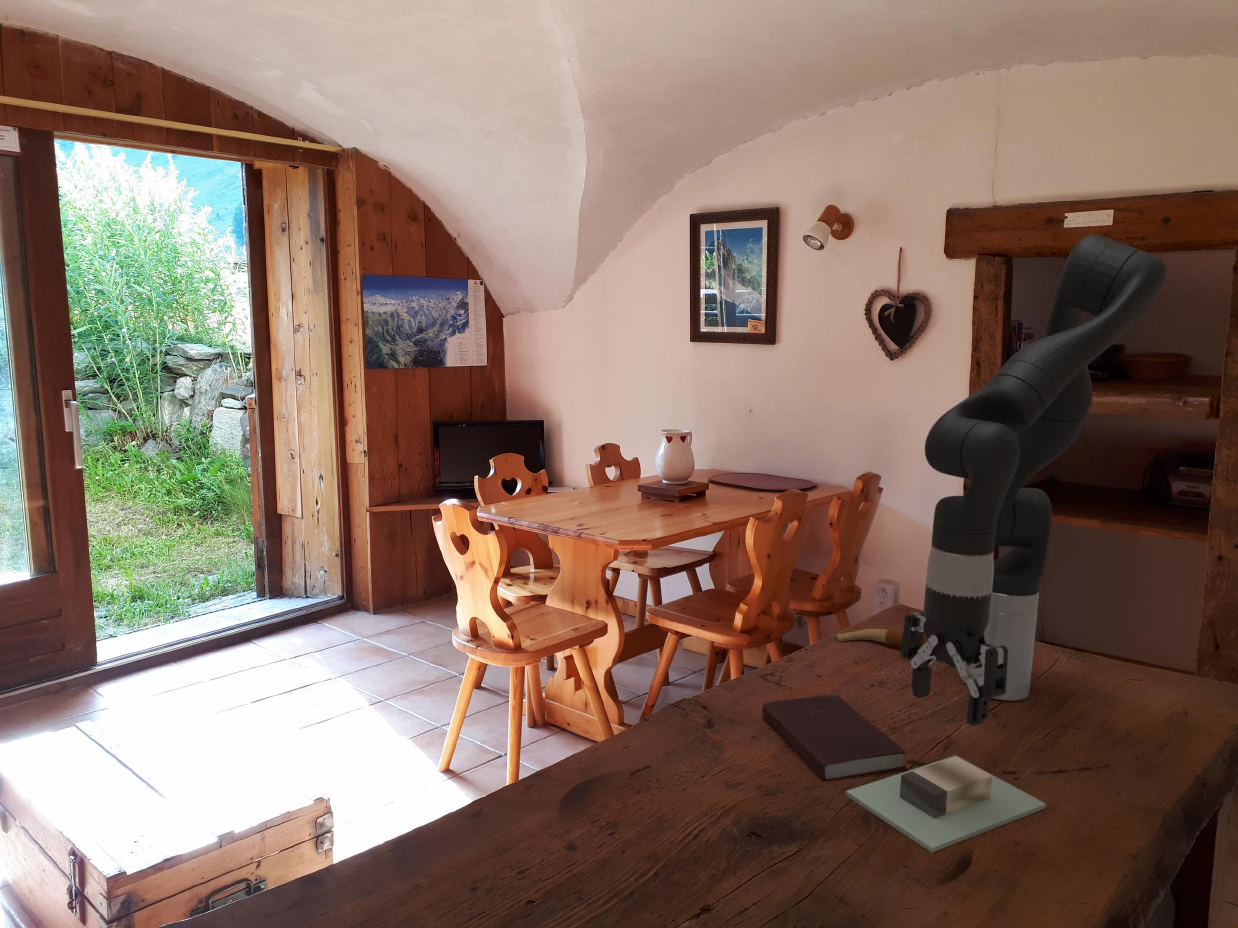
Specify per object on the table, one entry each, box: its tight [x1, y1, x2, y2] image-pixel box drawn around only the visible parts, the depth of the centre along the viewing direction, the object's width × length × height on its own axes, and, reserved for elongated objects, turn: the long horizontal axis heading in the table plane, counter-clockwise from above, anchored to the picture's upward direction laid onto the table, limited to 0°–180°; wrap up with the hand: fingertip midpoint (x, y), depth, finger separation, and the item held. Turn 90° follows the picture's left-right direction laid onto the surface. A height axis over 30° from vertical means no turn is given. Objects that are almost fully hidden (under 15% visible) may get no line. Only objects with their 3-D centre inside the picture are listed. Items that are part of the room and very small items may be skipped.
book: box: [761, 694, 907, 782], centre depth 133 cm, size 12×19×3 cm, turn 16°
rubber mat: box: [845, 754, 1047, 854], centre depth 117 cm, size 14×20×1 cm
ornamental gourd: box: [835, 628, 927, 648], centre depth 169 cm, size 7×18×6 cm, turn 80°
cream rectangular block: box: [900, 756, 993, 818], centre depth 117 cm, size 10×6×3 cm, turn 120°
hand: (947, 709), depth 116 cm, fingers open, 8 cm apart
